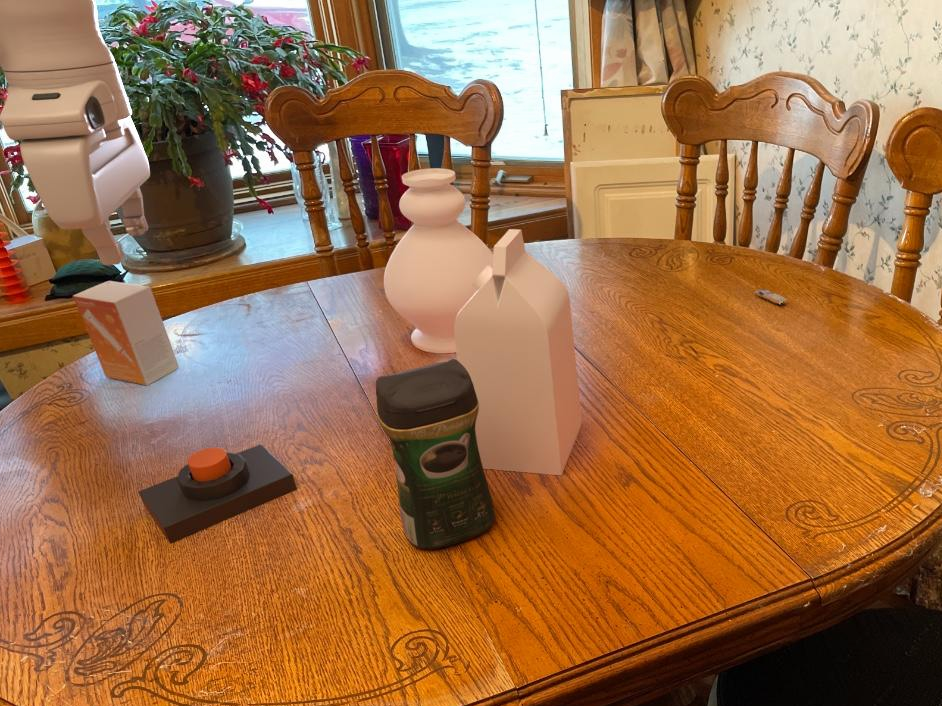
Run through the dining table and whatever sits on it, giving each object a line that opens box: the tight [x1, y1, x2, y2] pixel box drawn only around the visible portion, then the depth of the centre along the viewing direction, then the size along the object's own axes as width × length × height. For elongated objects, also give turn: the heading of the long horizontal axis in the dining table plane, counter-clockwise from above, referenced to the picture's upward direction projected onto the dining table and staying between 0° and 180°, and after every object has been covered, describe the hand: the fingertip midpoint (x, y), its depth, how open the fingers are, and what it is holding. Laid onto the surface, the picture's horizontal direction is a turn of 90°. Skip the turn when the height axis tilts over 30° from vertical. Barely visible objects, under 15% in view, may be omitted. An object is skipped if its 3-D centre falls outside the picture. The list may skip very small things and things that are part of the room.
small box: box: [72, 280, 180, 387], centre depth 112 cm, size 8×6×13 cm
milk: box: [454, 228, 583, 476], centre depth 89 cm, size 12×12×26 cm
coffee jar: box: [375, 358, 496, 551], centre depth 78 cm, size 10×8×19 cm
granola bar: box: [753, 288, 788, 305], centre depth 133 cm, size 7×2×1 cm, turn 33°
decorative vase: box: [383, 167, 493, 354], centre depth 117 cm, size 18×18×25 cm
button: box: [187, 447, 231, 482], centre depth 86 cm, size 4×4×2 cm
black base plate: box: [138, 443, 297, 544], centre depth 88 cm, size 14×9×4 cm, turn 132°
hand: (127, 247), depth 79 cm, fingers open, 8 cm apart
